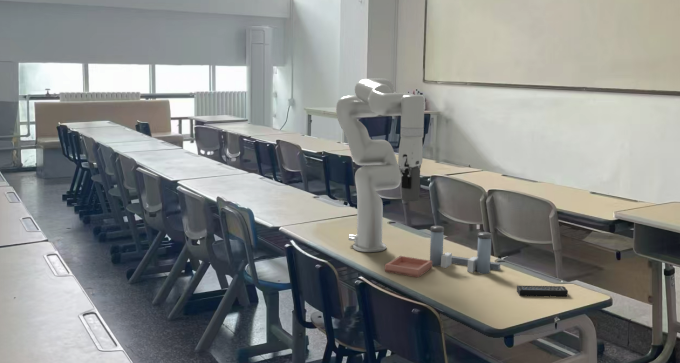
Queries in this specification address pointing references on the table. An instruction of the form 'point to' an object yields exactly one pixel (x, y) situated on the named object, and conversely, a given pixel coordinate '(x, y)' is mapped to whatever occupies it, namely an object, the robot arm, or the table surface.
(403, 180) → the robot arm
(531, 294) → the multiport hub
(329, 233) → the table surface
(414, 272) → the tray
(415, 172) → the bottle
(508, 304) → the table surface
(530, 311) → the table surface
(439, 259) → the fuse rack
